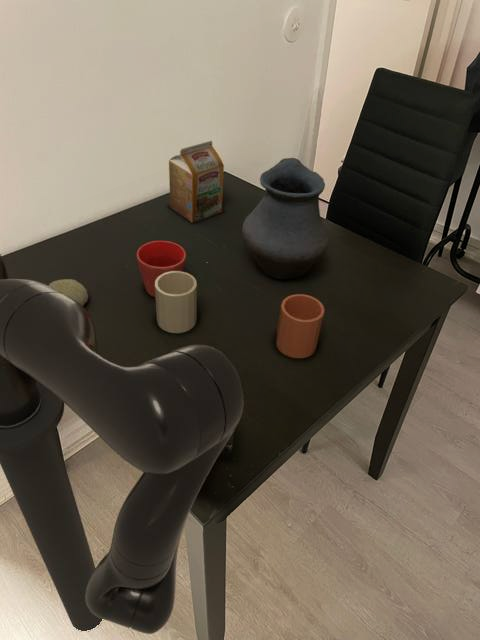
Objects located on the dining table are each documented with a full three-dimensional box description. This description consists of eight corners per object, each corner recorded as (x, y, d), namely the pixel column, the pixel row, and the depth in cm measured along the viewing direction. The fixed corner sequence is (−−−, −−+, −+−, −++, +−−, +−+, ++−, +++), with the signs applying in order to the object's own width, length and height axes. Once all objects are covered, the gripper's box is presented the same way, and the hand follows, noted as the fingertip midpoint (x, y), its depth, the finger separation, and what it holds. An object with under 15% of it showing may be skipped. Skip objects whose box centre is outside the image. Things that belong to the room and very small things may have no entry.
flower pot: (179, 271, 122) (178, 236, 116) (191, 298, 114) (191, 263, 108) (135, 278, 119) (132, 243, 113) (145, 306, 111) (142, 271, 105)
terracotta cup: (290, 363, 101) (297, 326, 94) (268, 337, 106) (273, 301, 100) (324, 350, 104) (332, 314, 98) (301, 326, 110) (307, 289, 103)
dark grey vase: (241, 291, 118) (249, 193, 101) (238, 241, 134) (244, 149, 117) (328, 294, 119) (349, 197, 102) (314, 243, 135) (331, 153, 119)
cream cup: (166, 338, 104) (164, 300, 98) (151, 314, 110) (148, 277, 103) (203, 326, 108) (203, 289, 101) (186, 303, 113) (185, 267, 106)
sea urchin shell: (68, 317, 104) (43, 285, 103) (54, 326, 110) (30, 296, 108) (99, 294, 110) (76, 264, 109) (84, 304, 116) (62, 276, 114)
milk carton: (192, 222, 139) (192, 156, 127) (170, 207, 145) (168, 142, 133) (221, 211, 145) (224, 147, 132) (199, 197, 151) (200, 134, 138)
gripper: (224, 472, 70) (250, 383, 82) (126, 448, 71) (166, 365, 84) (222, 500, 74) (247, 412, 87) (130, 477, 76) (167, 394, 89)
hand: (207, 389), depth 85 cm, fingers closed on beer can, 5 cm apart
